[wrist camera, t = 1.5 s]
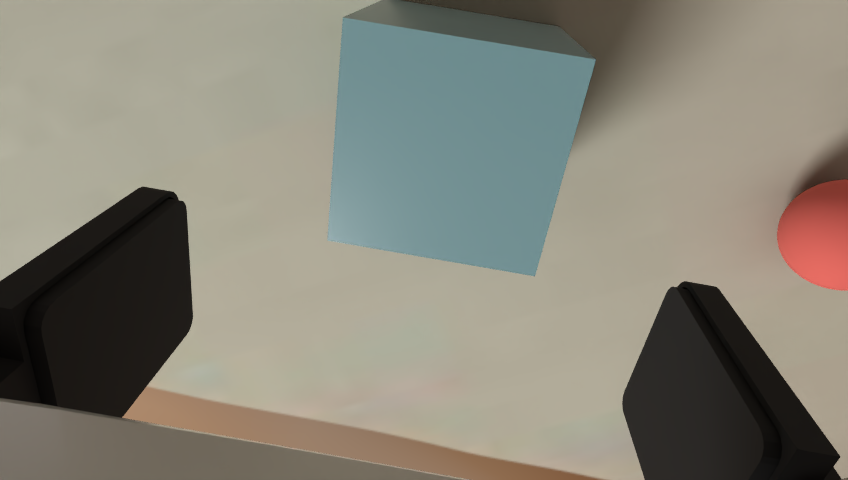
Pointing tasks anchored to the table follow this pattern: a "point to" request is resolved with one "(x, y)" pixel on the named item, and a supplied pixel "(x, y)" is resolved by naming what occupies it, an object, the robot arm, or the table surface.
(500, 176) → the matte blue-grey box
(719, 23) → the table surface
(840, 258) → the ball
